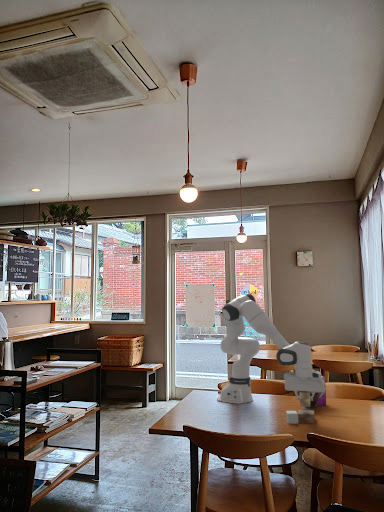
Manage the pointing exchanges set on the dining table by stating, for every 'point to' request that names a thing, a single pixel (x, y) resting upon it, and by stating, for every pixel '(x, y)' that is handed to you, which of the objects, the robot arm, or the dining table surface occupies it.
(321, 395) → the candy bar box
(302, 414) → the walnut pedestal
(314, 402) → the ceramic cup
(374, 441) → the dining table surface
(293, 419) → the grey green block
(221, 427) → the dining table surface
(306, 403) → the oak block
